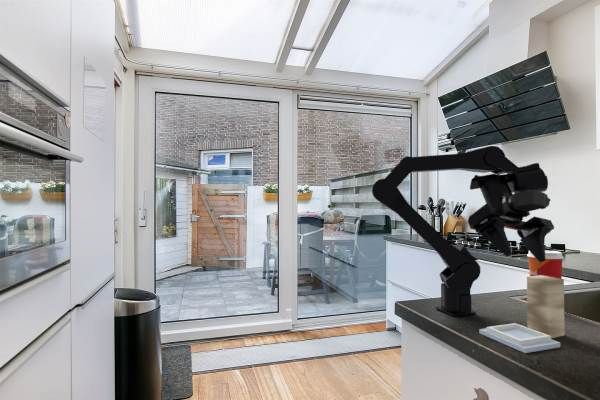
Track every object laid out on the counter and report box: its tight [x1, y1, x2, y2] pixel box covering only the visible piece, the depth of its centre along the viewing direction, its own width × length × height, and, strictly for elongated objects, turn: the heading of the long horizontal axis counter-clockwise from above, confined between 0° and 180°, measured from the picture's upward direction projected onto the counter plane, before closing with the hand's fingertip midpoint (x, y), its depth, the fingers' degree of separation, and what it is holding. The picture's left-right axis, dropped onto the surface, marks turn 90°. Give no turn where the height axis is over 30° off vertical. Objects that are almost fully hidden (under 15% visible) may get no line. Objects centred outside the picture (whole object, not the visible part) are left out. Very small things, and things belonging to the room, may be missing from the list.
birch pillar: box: [526, 275, 565, 339], centre depth 71 cm, size 4×4×11 cm
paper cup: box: [526, 249, 565, 279], centre depth 88 cm, size 8×8×14 cm
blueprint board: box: [478, 322, 561, 354], centre depth 67 cm, size 10×8×2 cm
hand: (526, 258), depth 72 cm, fingers open, 9 cm apart
